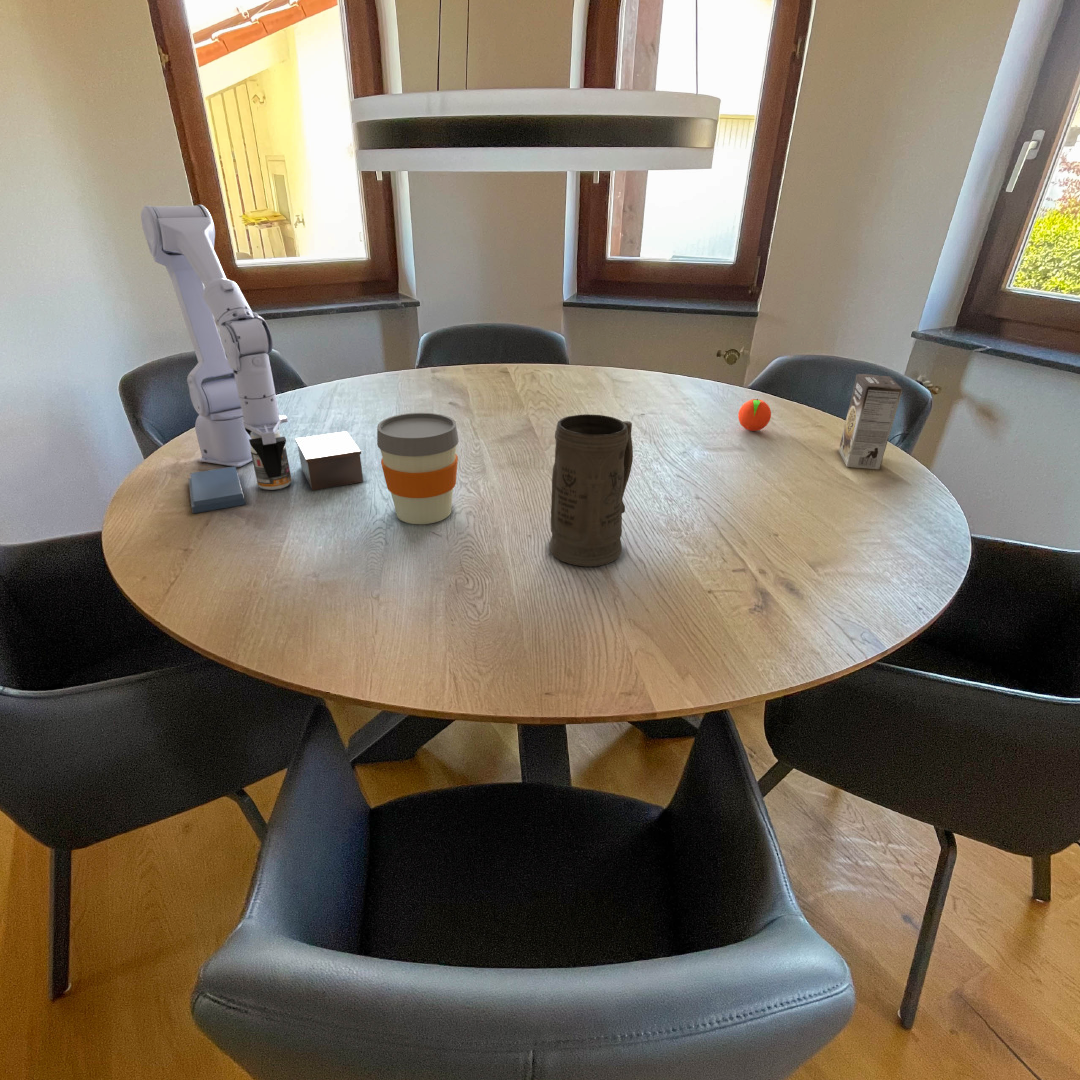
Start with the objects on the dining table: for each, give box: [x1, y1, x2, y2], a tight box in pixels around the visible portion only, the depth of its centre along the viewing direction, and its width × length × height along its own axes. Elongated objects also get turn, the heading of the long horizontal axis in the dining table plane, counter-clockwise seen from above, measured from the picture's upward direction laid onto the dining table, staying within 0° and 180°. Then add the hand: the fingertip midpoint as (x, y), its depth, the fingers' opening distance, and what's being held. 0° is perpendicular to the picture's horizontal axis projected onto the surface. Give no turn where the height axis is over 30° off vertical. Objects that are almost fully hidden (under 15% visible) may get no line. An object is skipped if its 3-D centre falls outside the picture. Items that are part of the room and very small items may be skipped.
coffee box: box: [838, 373, 904, 470], centre depth 128 cm, size 9×6×16 cm
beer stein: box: [549, 413, 634, 567], centre depth 95 cm, size 15×11×20 cm
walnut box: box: [294, 431, 364, 491], centre depth 120 cm, size 9×11×6 cm
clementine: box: [737, 398, 772, 432], centre depth 145 cm, size 8×7×7 cm
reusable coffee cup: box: [376, 412, 460, 525], centre depth 105 cm, size 13×13×15 cm
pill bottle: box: [250, 429, 292, 491], centre depth 115 cm, size 6×6×10 cm
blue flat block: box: [188, 466, 246, 514], centre depth 113 cm, size 8×13×2 cm, turn 27°
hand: (272, 469), depth 116 cm, fingers closed on pill bottle, 6 cm apart
